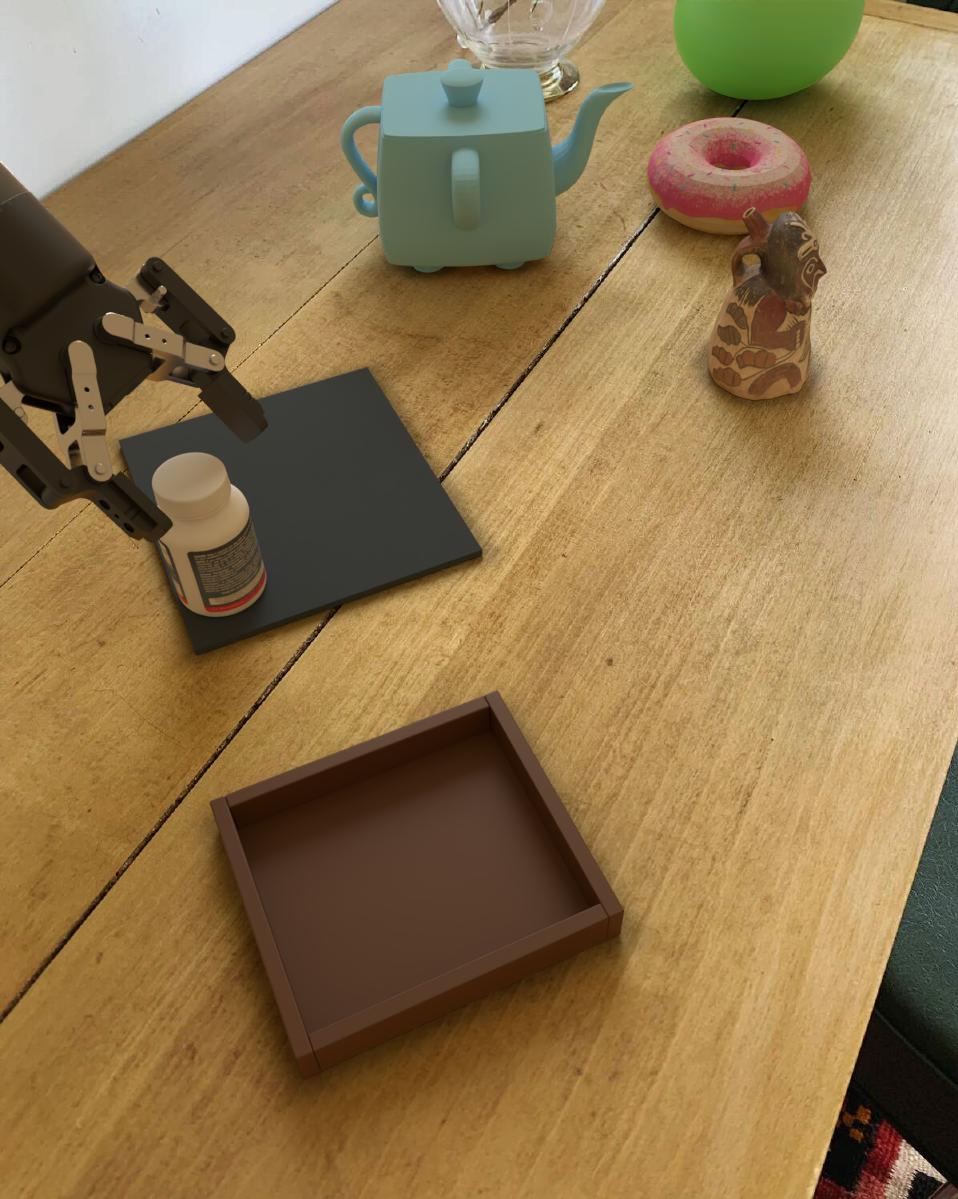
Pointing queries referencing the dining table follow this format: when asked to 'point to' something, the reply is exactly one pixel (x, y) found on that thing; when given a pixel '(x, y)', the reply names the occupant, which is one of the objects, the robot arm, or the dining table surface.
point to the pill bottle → (208, 536)
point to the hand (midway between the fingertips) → (212, 482)
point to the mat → (318, 501)
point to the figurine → (767, 310)
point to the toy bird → (764, 43)
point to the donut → (727, 174)
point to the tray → (410, 879)
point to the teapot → (469, 165)
